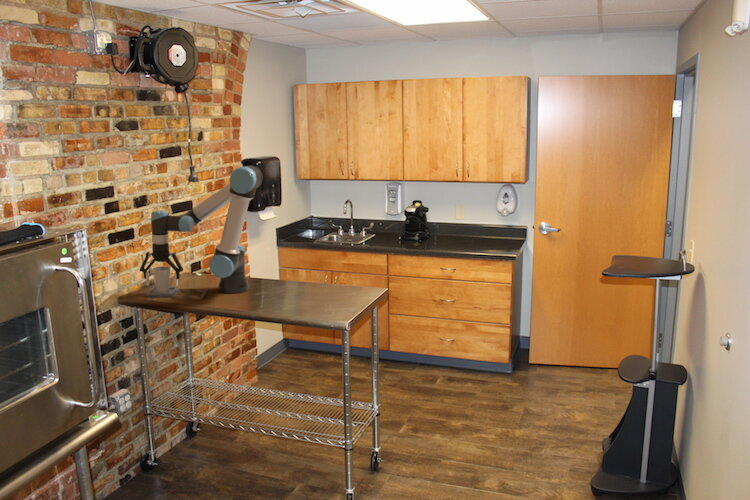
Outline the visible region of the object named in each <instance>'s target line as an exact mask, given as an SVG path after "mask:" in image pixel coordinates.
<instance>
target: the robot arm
mask: <svg viewBox="0 0 750 500" xmlns="http://www.w3.org/2000/svg"><path fill="white" fill-rule="evenodd" d="M263 179H264V177H263V173H262V171H261V170H260V169H259V167H257V166H254V165H245V166H239V167H237V168H236V169H234V170H233V171H232V173H231V174H230V176H229V183H228V184H226V185H225V186H223V187H222V188H220V189H219V190H217V191H216V192H214V193H213V194H211V195H210V196H208V197H207V198H206V199H204V200H202V201H201V202H200V203H199V204H197V205H195V206H194V207H193V208H191V209H189V210H188V211H187V212H185V213H182V214H180V215H170V214H168V213H169V212H168V211H167V210H159V209H158V210H153V211H151V214H150V216H151V217H150V222H151V224H150V225H151V242H152V244H151V246H152V247H151V248H152V252H150V251H147V252H146V253H145V258H144V259H143V262H142V263H141V266H140V268H139V272H142V273H143V279H145V282H146V283H145V284H146V287H148V286H149V285H150V273H149V272H150V271H149V269H150V268H151V267H152V266H153V265H154V264H155V263H156V262H158V263H160V262H162V263H165V262H166V263H167V264H168V265H169V267H170V268H172V270H173V271H174V287H178V285H179V282H178V281H179V280H180V276H181V275H180V273H182V272H183V271H184V268H183V265H182V264H181V262H180V260H179V259H178V257H177V253H176V252H170V250H169V249H170V242H169V232H182V233H188V232H189V233H190V232H192V231H193V229H194V227H196V226H197V225H198V224H199V223H201V222H202V221H203V220H205V219H207V218H208V217H209V216H212V214H214V213H215V212H217V211H218V210H220V209H221V208H223V207H225V206H226V205H228V204H229V205H228V209H227V214H226V217H225V221H224V225H223V230H222V233H221V238H220V242H219V244H217V245H216V246H215V249H214V253H213V255H212V257H211V258H210V260H209V262H208V263H209V264H208V267H209V270H210V272H211V273H212V274H213V275H214V276H215V277H217V278H219V282H218V285H217V290H218V292H220V293H224V294H239V293H244V292H247V291H249V288H250V287H249V282H248V279H247V277H246V272H245V271H246V262H245V261H246V259H245V258H246V257H245V256H246V251H245V247H244V246H243V245H240V240H241V237H242V233H243V228H244V225H245V220H246V216H247V212H248V209H249V208H248V207H249V204H250V202H251V200H253V199H255V194H256V192H257V188H259V187H260V186H261V185H262V183H263ZM150 257H153V259H152V260H151V261H150V263H149V264H148V265H147V263H148V262H149V261H148V260H149V258H150ZM170 257H171V258H172V260H173V261H174V262H173V261H172V260H171V258H170ZM146 265H147V266H146Z"/></svg>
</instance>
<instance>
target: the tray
mask: <svg viewBox="0 0 750 500" xmlns="http://www.w3.org/2000/svg"><path fill="white" fill-rule="evenodd" d="M178 290H179V286H169V293H156V287H155V286H152V287H151V289H149V290H148V291H147V292H146V298H173V295H174V294H175V293H176V292H177V291H178Z"/></svg>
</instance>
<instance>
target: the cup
mask: <svg viewBox="0 0 750 500" xmlns="http://www.w3.org/2000/svg"><path fill="white" fill-rule="evenodd" d="M152 272H153V276H154V287H156V293H169V287H170V282H171V281H170V279H171V278H170V277H171V266H164V265H163V266H157V267H153V268H152Z"/></svg>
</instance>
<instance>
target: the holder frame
mask: <svg viewBox="0 0 750 500" xmlns="http://www.w3.org/2000/svg"><path fill="white" fill-rule="evenodd" d="M181 293H202V294H201V295H180V294H181ZM207 294H208V288H178V291H177V292H176V293H175V294H174V295H173V297H172V299H173V300H203V299H204V297H205V296H206V295H207Z"/></svg>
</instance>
